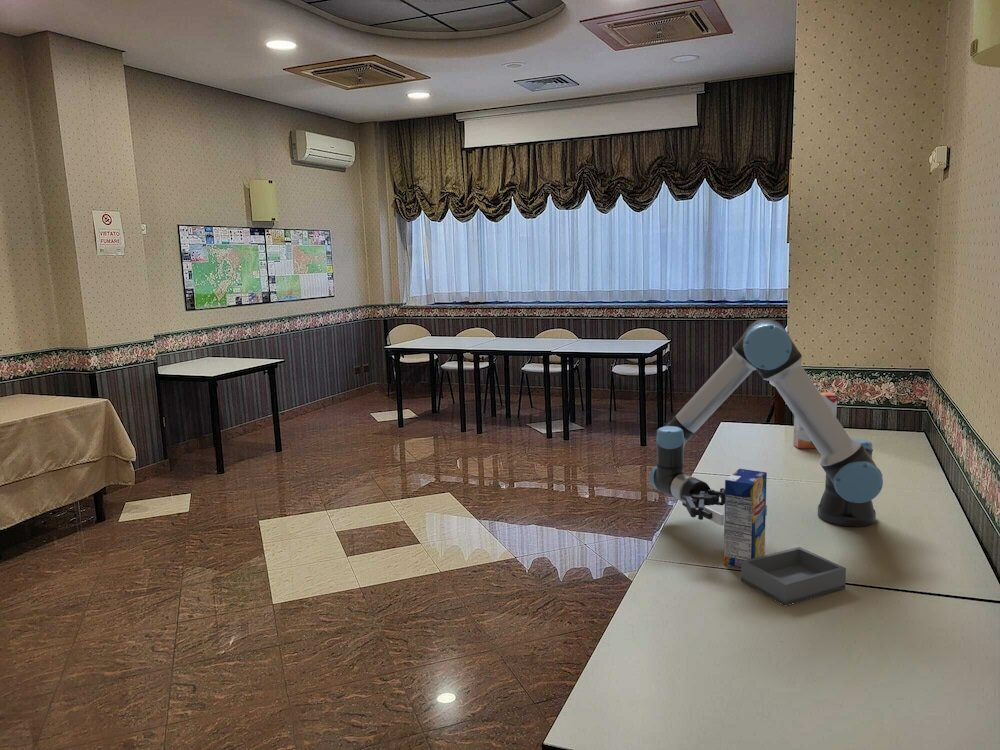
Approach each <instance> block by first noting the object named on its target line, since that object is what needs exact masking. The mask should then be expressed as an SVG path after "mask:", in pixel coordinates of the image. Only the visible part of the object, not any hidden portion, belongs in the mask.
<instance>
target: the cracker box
mask: <svg viewBox="0 0 1000 750" xmlns="http://www.w3.org/2000/svg"><path fill="white" fill-rule="evenodd" d="M820 394H821V395H822V397H823V398H824V400H825V401H826V403H827V404H828V406H829V407H830V409H831V410H832V412H833V413H834V415H835V416H836V417H837V409H838V395H837V394H836V393H833V392H829V391H828V392H820ZM792 438H793V440H792V443H793V446H794V447H796V448H797V449H817V448H816V447H815V445H814V444H813V442H812V441H811V439H810V438H809V436H808V435H807V433H806V432H805V430H804V429H803V427H802V426H801V425H800V423H799V422H798V420H797V419H796V417H795V416H794V417H793V437H792Z"/></svg>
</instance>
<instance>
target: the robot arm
mask: <svg viewBox="0 0 1000 750" xmlns="http://www.w3.org/2000/svg"><path fill="white" fill-rule="evenodd" d="M731 349H732V351H731V352H732V353H731V354H730V355H729V356H728V358H727V359H725V361H724V362H722V364H721V365H720V366H719V368H717V369H716V370H715V372H714V373H713V374H712V375H711V376H710V377H709V378H708V379H707V381H706V382H704V384H703V385H702V386H701V387H700V388H699V390H698V391H697V392H696V393H695V394H694V395H693V396H692V397H691V398H690V400H688V401H687V403H685V405H683V407H682V408H681V409H680V411H678V413H677V414H676V415H675V416H674V417H672V419H671V421H670V422H668V423H666V424H665V425H664V426H662V427H659V428H658V429H657V430H656V465H655V466H654V467H653V468H652V469H651V472H650V474H649V478H648V479H649V482H650V485H651V486H652V487H653V488H654V489H656V491H657V490H658V492H660V493H662V494H665V495H668V496H669V497H671V498H674V499H676V500H678V501H680V502H682V505H681V506H683V507H685V508H686V510H687V512H688V514H689V516H690V518H696V517H698V518H697V519H698V520H700V521H703V520H704V518H705V519H707V520H709V521H711V522H713V523H715V524H717V525H720V526H724V522H725V513H724V514H723V513H721V512H719V511H717V510H715V509H714V508H711V507H709V506H714V505H715V506H716V505H717V506H725V487H724V488H722V487H721V488H720V489H719V490H718V491H717V490H715V489H712V488H711V487H710V486H709V484H708V483H707V482H705V481H703V480H700V479H698V478H696V477H694V476H691V475H690V474H686V473H685V472H684V467H685V466H684V465H685V464H684V460H685V459H684V457H685V456H684V455H685V454H684V452H685V447H686V443H687V442H688V441H689V440H690V439H691V438H692V437H693V436H694V435H695V433H696V432H697V431H698V430H699V429H700V428H701V427H702V425H704V423H705V422H706V421H708V420H709V418H710V417H711V416H712V415H713V414H714V413H715V412H716V411H717V409H719V407H720V406H721V405H723V403H724V402H725V401H726V400H727V399H728V398H729V397H730V396H731V395H732V394H733V393H734V392H735V390H736V389H737V388H738V387H739V386H740V385H741V384H742V383H744V381H745V380H746V379H747V377H749V376H750V374H752V372H754V371H756V372H757V373H758V374H759V375H760V377H761V378H762V380H764V381H768V382H771V383H772V384H773V386H774V388H775V389H776V390H777V392H778V393H779V395H780V397H782V399H783V400H784V402H785V404H786V405H787V407H788V408H789V410H790V412H792V415H794V416H795V417H796V419H797V420H798V422H799V423H800V425H801V426H802V427H803V429H804V430H805V432H806V433H807V435H808V436H809V438H810V439H811V441H812V442H813V444H814V445H815V447H816V448H815V449H816V450H817V451H818V453H819V454H820V459H819V465H820V466H821V468H822V469H823V471H824V473H825V482H824V483H825V485H824V486H825V487H824V488H825V489H824V492H823V494H822V496H821V499H820V502H819V503H818V506H817V516H818V518H820V519H821V520H822V521H825V522H826V523H830V524H833V525H837V526H843V527H852V526H853V527H858V528H859V527H867V526H871V525H873V524H875V522H876V521H877V518H876V517H877V512H876V510H875V508H874V505H873V500H874V499H875V498H876V497H877V496H878V495H879V494H880V493H881V491H882V490H883V485H884V480H883V473H882V471H881V470H880V469H879V467H878V465H876V463H875V461H874V459H873V452H874V449H873V444H872V442H871V441H870V440H866V439H861V438H860V439H859V438H851V437H850V436H849V434H848V433H847V431H846V430H845V427H844V426H843V425H842V424H841V422H840V420H839V419H838V418H837V415H836V416H835V415H834V413H833V412H832V410H831V409H830V407H829V406H828V404H827V403H826V401H825V400H824V398H823V397H822V395H821V394H820V393H821V392H820V391H819V390H818V388H817V387H816V385H815V384H814V382H813V380H812V379H811V377H810V376H809V375H808V373H807V371H805V369H804V367H803V366H802V360H803V355H802V353H801V352H800V350H799V349H798V347H797V346H796V344H795V343H794V341H793V340H792V338H791V336H790V335H789V333H788V332H787V330H786V329H785V327H784V326H783V325H782V324H781V323H780V322H779V321H778V320H774V319H771V318H761V319H757V320H755V321H753V322H752V323H751V324H750V325H748V326H747V328H746V329H745V331H744V333H743V334H742V336H740V338H739V340H738V341H737V342H736V343H735V345H733V347H732V348H731ZM767 515H768V505H767V504H766V516H767Z"/></svg>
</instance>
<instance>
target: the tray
mask: <svg viewBox="0 0 1000 750" xmlns="http://www.w3.org/2000/svg"><path fill="white" fill-rule="evenodd" d="M846 576H847V567H844V566H842V565H840V564H837V563H835V562H833V561H832V560H829V559H827V558H824V557H822V556H820V555H817V553H816V554H815V553H813V552H811V551H809V550H807V549H805V548H803V547H801V546H797V547H794V548H789V549H786V550H782V551H777V552H772V553H769V554H765V555H764V556H761V557H757V558H753V559H749V560H745V561H741V568H740V582H741V583H744V584H745V585H747V586H748V587H750V588H752V589H754V590H756V591H757V592H759V593H761V594H763V595H764V594H765V596H766V597H768V598H769V599H771V598H772V599H771V600H773V601H775V600H776V601H775V602H777V603H778V602H779V603H778V604H780V603H781V605H782V604H783V605H782V606H784V605H787V606H790V605H789V604H791V605H793V604H792V603H794V604H797V602H798V603H801V602H804V600H805V601H808V600H812V599H815V598H818V596H819V597H822V596H826V595H828V594H832V593H836V592H839V591H843V590H845V589H846V581H847V580H846V578H847V577H846ZM825 594H826V595H825ZM814 597H815V598H814ZM811 598H812V599H811ZM807 599H808V600H807ZM800 601H801V602H800Z"/></svg>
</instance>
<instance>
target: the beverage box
mask: <svg viewBox="0 0 1000 750" xmlns="http://www.w3.org/2000/svg"><path fill="white" fill-rule="evenodd" d="M767 476H768V473H767V472H765V471H759V470H752V469H746V468H738V469H737V470H735V472H733V473H731V474H730V475H729V476H728V477H726V478H725V480H724V489H725V504H724V525H723V526H724V530H723V531H724V532H723V533H724V535H723V537H724V538H723V565H724V564H726V565H725V566H728V565H730V566H729V567H732V566H733V567H732V568H737V569H741V561H745V560H749V559H753V558H757V557H761V556H765V555H766V554H765V552H766V551H765V548H766V505H767V481H768V479H767Z"/></svg>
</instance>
